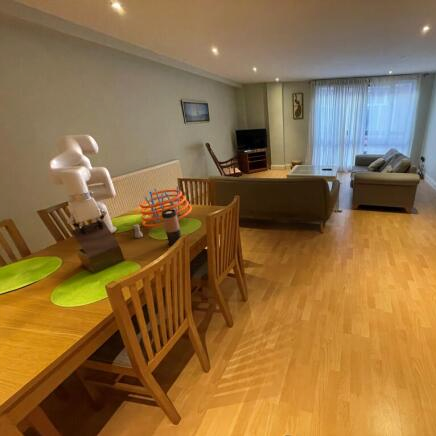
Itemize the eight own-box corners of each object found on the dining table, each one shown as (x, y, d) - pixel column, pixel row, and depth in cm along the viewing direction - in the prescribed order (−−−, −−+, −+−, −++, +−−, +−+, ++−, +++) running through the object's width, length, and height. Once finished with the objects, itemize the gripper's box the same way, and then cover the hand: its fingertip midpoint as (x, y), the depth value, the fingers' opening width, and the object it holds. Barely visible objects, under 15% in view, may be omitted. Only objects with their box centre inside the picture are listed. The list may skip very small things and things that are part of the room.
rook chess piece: (137, 235, 155) (134, 223, 152) (144, 234, 155) (141, 223, 152) (133, 238, 151) (130, 226, 148) (141, 237, 151) (137, 226, 148)
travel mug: (185, 240, 147) (178, 210, 139) (176, 246, 140) (168, 214, 132) (175, 238, 149) (168, 208, 141) (165, 244, 143) (157, 213, 135)
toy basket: (161, 235, 156) (147, 201, 146) (134, 227, 175) (120, 197, 165) (203, 214, 182) (194, 184, 172) (176, 209, 200) (166, 181, 190)
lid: (70, 231, 114) (70, 226, 111) (103, 221, 125) (104, 216, 121) (88, 257, 113) (89, 253, 110) (119, 245, 124) (121, 241, 120)
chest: (82, 264, 124) (76, 250, 120) (111, 253, 134) (106, 239, 131) (94, 273, 117) (88, 258, 113) (124, 260, 127) (119, 245, 124)
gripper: (98, 190, 119) (109, 223, 126) (52, 200, 105) (68, 236, 113) (104, 193, 115) (116, 226, 122) (58, 203, 102) (74, 240, 109)
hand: (93, 231), depth 117 cm, fingers closed on lid, 6 cm apart
